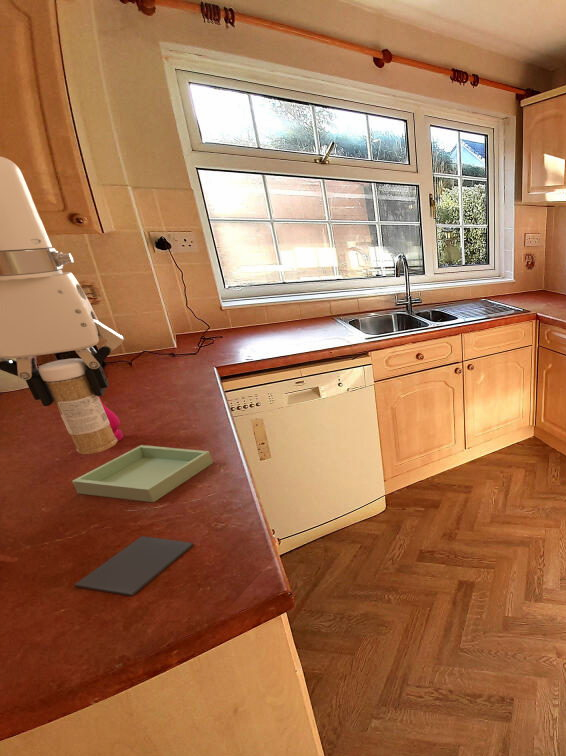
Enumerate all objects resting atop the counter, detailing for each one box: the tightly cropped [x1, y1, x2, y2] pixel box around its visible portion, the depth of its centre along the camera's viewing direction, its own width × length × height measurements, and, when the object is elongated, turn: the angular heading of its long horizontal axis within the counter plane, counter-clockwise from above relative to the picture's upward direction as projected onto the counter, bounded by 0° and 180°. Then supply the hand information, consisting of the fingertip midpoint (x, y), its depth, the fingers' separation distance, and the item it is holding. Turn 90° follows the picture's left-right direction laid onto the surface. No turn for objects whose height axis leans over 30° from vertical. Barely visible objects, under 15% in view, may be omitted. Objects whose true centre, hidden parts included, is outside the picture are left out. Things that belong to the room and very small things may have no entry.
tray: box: [71, 444, 214, 503], centre depth 86 cm, size 18×14×3 cm
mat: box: [74, 535, 195, 597], centre depth 65 cm, size 10×10×1 cm
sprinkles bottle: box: [37, 357, 119, 455], centre depth 60 cm, size 5×5×13 cm
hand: (75, 396), depth 60 cm, fingers closed on sprinkles bottle, 4 cm apart
